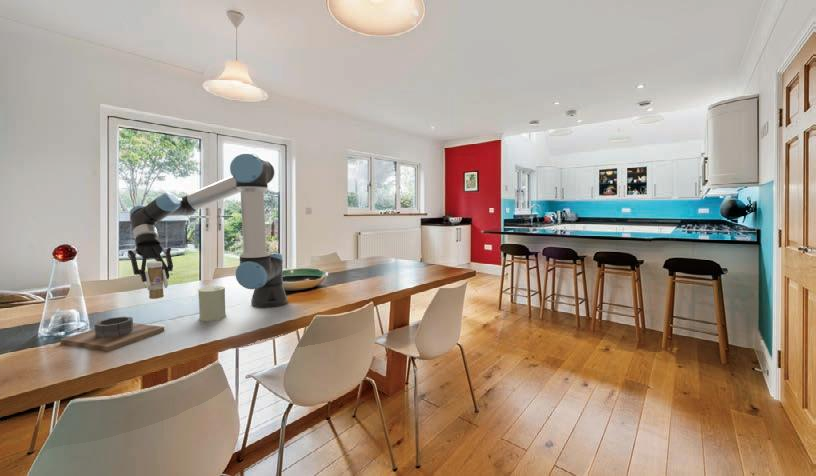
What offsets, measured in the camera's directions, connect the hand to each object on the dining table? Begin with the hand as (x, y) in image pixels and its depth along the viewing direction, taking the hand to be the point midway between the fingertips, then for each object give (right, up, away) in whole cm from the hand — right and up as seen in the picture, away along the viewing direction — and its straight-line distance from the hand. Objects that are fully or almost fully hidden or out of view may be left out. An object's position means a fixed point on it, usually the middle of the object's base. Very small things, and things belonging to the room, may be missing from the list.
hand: (157, 286), depth 124 cm
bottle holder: (-6, -15, -11) cm, 20 cm away
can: (+14, -14, +11) cm, 22 cm away
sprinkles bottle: (-3, -5, +3) cm, 6 cm away
